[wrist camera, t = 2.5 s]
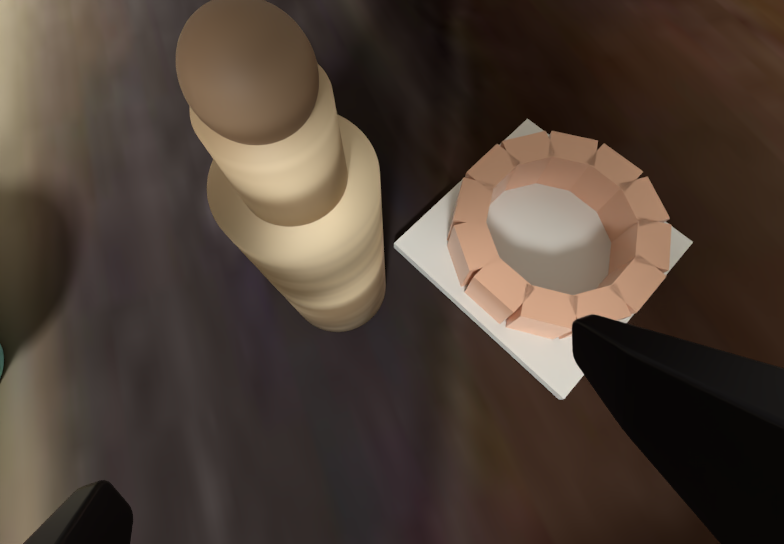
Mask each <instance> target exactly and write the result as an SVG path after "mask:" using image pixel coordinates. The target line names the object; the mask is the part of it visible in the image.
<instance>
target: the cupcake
mask: <svg viewBox="0 0 784 544" xmlns="http://www.w3.org/2000/svg"><path fill="white" fill-rule="evenodd" d="M3 366H4V354H3V349H2V346H1V344H0V378H1V375H2V371H3Z"/></svg>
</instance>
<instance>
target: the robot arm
mask: <svg viewBox="0 0 784 544" xmlns="http://www.w3.org/2000/svg"><path fill="white" fill-rule="evenodd" d="M572 352H573V357H574V360H575V362H576V364H577V365H578V367H579V368H580V369H581V371H582V372H583V374H584V375H585V377H586V378H587V380H588V381H589V382H590V384H591V385H592V387H593V388H594V390H595V391H596V392H597V394H598V395H599V397H600V398H601V400H602V401H603V402H604V404H605V405H606V407H607V408H608V410H609V411H610V412H611V414H612V415H613V417H614V418H615V420H616V421H617V422H618V424H619V425H620V426H621V428H622V429H623V430H624V431H625V433H626V434H627V435H628V436H629V437H630V439H631V440H632V441H633V442H634V443H635V445H636V446H637V447H638V448H639V449H640V450H641V452H642V453H643V454H644V455H645V456H646V457H647V458H648V460H649V461H650V462H651V463H652V464H653V465H654V467H655V468H656V469H657V470H658V471H659V472H660V474H661V475H662V476H663V477H664V478H665V479H666V481H667V482H668V483H669V484H670V485H671V486H672V488H673V489H674V490H675V491H676V492H677V493H678V495H679V496H680V497H681V498H682V499H683V500H684V501H685V503H686V504H687V505H688V506H689V507H690V508H691V510H692V511H693V512H694V513H695V514H696V515H697V517H698V518H699V519H700V520H701V521H702V522H703V524H704V525H705V526H706V527H707V528H708V529H709V531H710V532H711V533H712V534H713V535H714V536H715V538H716V539H717V540H718V541H719V542H720V543H721V544H784V368H780V367H777V366H774V365H770V364H767V363H763V362H760V361H756V360H753V359H749V358H746V357H742V356H739V355H735V354H732V353H728V352H725V351H721V350H718V349H714V348H711V347H707V346H704V345H700V344H697V343H693V342H690V341H686V340H683V339H679V338H676V337H672V336H669V335H665V334H662V333H658V332H655V331H651V330H648V329H644V328H641V327H638V326H634V325H631V324H627V323H624V322H620V321H617V320H613V319H610V318H606V317H603V316H599V315H595V314H591V315H587V316H584V317H581V318H578V319H576V320H574V321H573V323H572ZM132 524H133V514H132V510H131V507H130V506H129V504H128V503H127V502H126V501H125V499H124V498H123V497H122V496H121V495H120V494H119V492H118V491H117V490H116V489H115V488H114V487H113V485H112V484H111V483H110V482H108V481H105V480H101V481H97V482H94V483H91V484H89V485H86V486H83V487H81V488H79V489H77V490H76V491H75V492H74V493H73V494H72V495H71V496H70V497H69V498H68V499H67V500H66V501H65V502H64V503H63V504H62V505H61V506H60V507H59V508H58V509H57V510H56V511H55V512H54V513H53V514H52V515H51V516H50V517H49V518H48V519H47V520H46V521H45V522H44V523H43V524H42V525H41V526H40V527H39V528H38V529H37V530H36V531H35V532H34V533H33V534H32V535H31V536H30V537H29V538H28V539H27V540H26V541H25V542H24V543H23V544H130V540H131V532H132Z"/></svg>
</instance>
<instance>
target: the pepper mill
mask: <svg viewBox="0 0 784 544" xmlns="http://www.w3.org/2000/svg"><path fill="white" fill-rule="evenodd" d="M176 71H177V76H178V81H179V84H180V87H181V90H182V92H183V95H184V97H185V99H186V100H187V102H188V104H189V106H190V119H191V123H192V126H193V128H194V131H195V133H196V134H197V136H198V137H199V139H200V140H201V142H202V143H203V145H204V146H205V147H206V149H207V150H208V152H209V153H210V155H211V156H212V157H213V162H212V164H211V167H210V170H209V174H208V180H207V197H208V202H209V206H210V209H211V212H212V214H213V217H214V219H215V220H216V222H217V224H218V225H219V227H220V228H221V229H222V230H223V231H224V233H225V234H226V235H227V236H228V237H229V238H230V239H231V240H232V241H233V242H234V244H235V245H236V246H237V247H238V248H239V249H240V250H241V251H242V252H243V253H244V254H245V255H246V256H247V257H248V258H249V260H250V261H251V262H252V263H253V264H254V265H255V266H256V267H257V268H258V269H259V270H260V271H261V272H262V273H263V274H264V276H265V277H266V278H267V279H268V280H269V281H270V282H271V283H272V284H273V285H274V286H275V287H276V288H277V289H278V291H279V292H280V293H281V294H282V295H283V296H284V297H285V298H286V299H287V300H288V301H289V302H290V303H291V304H292V305H293V307H294V308H295V309H296V310H297V311H298V312H299V313H300V314H301V315H302V316H303V317H304V318H305V319H306V320H307V321H308V322H309V323H311V324H312V325H314V326H315V327H317V328H319V329H322V330H325V331H330V332H345V331H350V330H353V329H356V328H358V327H360V326H362V325H364V324H365V323H367V322H368V321H369V320H370V319H371V318H372V317H373V316H374V315H375V314H376V313H377V311H378V310H379V308H380V306H381V305H382V302H383V299H384V296H385V290H386V280H385V260H384V241H383V222H382V202H381V183H380V167H379V163H378V158H377V156H376V153H375V150H374V148H373V147H372V145H371V143H370V141H369V140H368V139H367V137H366V136H365V135H364V133H363V132H362V131H361V130H360V129H359V128H358V127H357V126H355V125H354V124H353V123H351V122H350V121H349V120H347V119H345V118H343V117H341V116H340V115H337V111H336V106H335V101H334V95H333V90H332V85H331V83H330V80H329V78H328V76H327V74H326V73H325V71H324V70H323V69H322V67H321V66H320V65H319V64H318V63H317V61H316V57H315V54H314V51H313V49H312V46H311V44H310V42H309V40H308V39H307V37H306V35H305V34H304V32H303V31H302V29H301V28H300V27H299V26H298V24H297V23H296V22H295V21H294V20H293V19H292V18H291V17H290V16H289V15H288V14H286V13H285V12H284V11H282V10H281V9H279V8H278V7H277V6H275V5H273V4H271V3H269V2H267V1H264V0H212V1H210V2H208V3H206V4H204V5H203V6H201V7H200V8H199V9H198V10H197V11H195V12H194V14H193V15H192V16H191V17H190V18H189V19H188V21H187V22H186V24H185V25H184V28H183V30H182V32H181V34H180V36H179V40H178V44H177V49H176Z"/></svg>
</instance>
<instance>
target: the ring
mask: <svg viewBox="0 0 784 544" xmlns="http://www.w3.org/2000/svg"><path fill="white" fill-rule="evenodd" d="M597 145H598V140H593V139H588V138H584V137H579V136H574V135H570V134H565V133H560V132H556V131H551V133H550V135H549V134H547V133H546V131H543V130H542V129H541V128H539V127H538V126H537V125H535V124H534V123H533V122H531V121H530V120H529V119H527V120H525V121H524V122H523V123H522V124H521V125H520V126H519V127H518V128H517V129H516V130H515V131H514V132H513V133H512V134H510V135H509V136H508V137H507V138H506V139H505V140H504V141H502V143H501V144H500V145H498V144H496V145H495V146H494V147H493V148H492V149H491V150H490V151H489V152H488V153H487V154H485V155H484V156H483V157H482V158H481V159H480V160H479V161H478V162H477V163H476V164H475V165H474V166H473V167H471V168H470V169H469V170H468V171H467V172H466V175H465V177H463V179H462V180H461V181H460V182H459V183H458V184H457V185H456V186H455V187H454V188H453V189H452V190H450V191H449V192H448V193H447V194H446V195H445V196H444V197H443V198H442V199H441V200H440V201H439V202H438V203H437V204H435V205H434V206H433V207H432V208H431V209H430V210H429V211H428V212H427V213H426V214H425V215H424V216H423V217H422V218H420V219H419V220H418V221H417V222H416V223H415V224H414V225H413V226H412V227H411V228H410V229H409V230H408V231H407V232H405V233H404V234H403V235H402V236H401V237H400V238H399V239H398V240H397V241H396V242H395V243H394V248H395V249H396V250H397V251H398V252H399V253H400V254H401V255H402V256H404V257H405V258H406V259H407V260H408V261H409V262H410V263H411V264H412V265H413V266H414V267H416V268H417V269H418V270H419V271H420V272H421V273H422V274H423V275H424V276H425V277H426V278H427V279H429V280H430V281H431V282H432V283H433V284H434V285H435V286H436V287H437V288H438V289H439V290H440V291H442V292H443V293H444V294H445V295H446V296H447V297H448V298H449V299H450V300H451V301H452V302H454V303H455V304H456V305H457V306H458V307H459V308H460V309H461V310H462V311H463V312H464V313H465V314H467V315H468V316H469V317H470V318H471V319H472V320H473V321H474V322H475V323H476V324H477V325H479V326H480V327H481V328H482V329H483V330H484V331H485V332H486V333H487V334H488V335H489V336H490V337H492V338H493V339H494V340H495V341H496V342H497V343H498V344H499V345H500V346H501V347H502V348H503V349H505V350H506V351H507V352H508V353H509V354H510V355H511V356H512V357H513V358H514V359H515V360H517V361H518V362H519V363H520V364H521V365H522V366H523V367H524V368H525V369H526V370H527V371H528V372H530V373H531V374H532V375H533V376H534V377H535V378H536V379H537V380H538V381H539V382H540V383H542V384H543V385H544V386H545V387H546V388H547V389H548V390H549V391H550V392H551V393H552V394H553V395H555V396H556V397H557V398H558V399H564V398H565V397H566V396H567V395H568V394H569V392H570V391H571V390H572V389H573V387H574V386H575V385H576V384H577V383H578V381H579V380H580V379H581V378H582V377H583V375H584V374H583V372H582V371H581V369H580V368H579V367H578V365H577V364H576V362H575V360H574V357H573V352H572V323H573V321H574V320H576V319H578V318H581V317H584V316H587V315H591V314H595V315H599V316H603V317H606V318H610V319H613V320H617V321H620V322H624V323H627V322H628V321H629V319H630V318H631V317H632V316H633V315H634V313H636V312H638V311H639V309H640V308H641V307H642V306H643V304H644V303H645V302H646V301H647V300H648V298H649V297H650V296H651V295H652V293H653V292H654V291H655V290H656V289H657V287H658V286H659V285H660V284H661V283H662V281H663V280H664V279H665V278H666V275H667V273H668V272H669V271H670V270H671V269H672V267H673V266H674V265H675V264H676V262H677V261H678V260H679V259H680V258H681V256H682V255H683V254H684V253H685V252H686V250H687V249H688V248H689V247H690V245H691V244H692V243H693V242H692V241H691V240H689V239H688V238H687V237H685V236H684V235H683V234H681V233H680V232H679V231H677V230H676V229H675V228H673V227H672V225H671V224H668V223H667V222H666V221H667V220H669V219H670V217H669V215H668V214H667V212H666V210H665V208H664V206H663V204H662V202H661V201H660V199H659V197H658V195H657V193H656V191H655V189H654V187H653V186H652V184H651V182H650V180H649V178H648V177H644V178H640V179H637V178H638V177H639V176H640V175H641V174H642V173H643V171H642V170H640V169H639V168H638V167H636V166H635V165H633V164H632V163H631V162H629V161H628V160H626V159H625V158H624V157H622V156H621V155H620V154H618V153H617V152H615V151H614V150H613V149H611V148H610V147H609V146H607V145H606V144H603V145H602V146H601V147H600V148H599V149H598V150H597Z"/></svg>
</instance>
